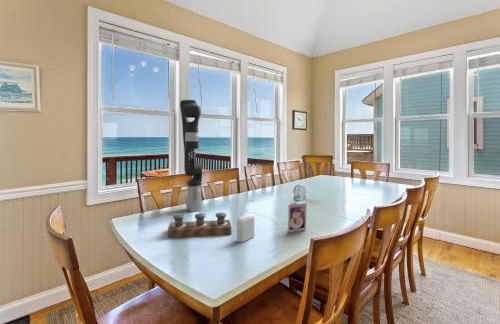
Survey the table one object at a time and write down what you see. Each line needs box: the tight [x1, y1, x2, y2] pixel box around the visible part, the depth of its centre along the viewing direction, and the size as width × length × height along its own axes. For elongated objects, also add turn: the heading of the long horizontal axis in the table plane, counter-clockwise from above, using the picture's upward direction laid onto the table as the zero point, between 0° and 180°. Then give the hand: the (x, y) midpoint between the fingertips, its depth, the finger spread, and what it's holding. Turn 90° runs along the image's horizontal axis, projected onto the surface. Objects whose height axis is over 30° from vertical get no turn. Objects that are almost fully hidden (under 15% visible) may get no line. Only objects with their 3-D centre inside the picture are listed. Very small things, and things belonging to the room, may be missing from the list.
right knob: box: [215, 212, 227, 224], centre depth 143 cm, size 6×6×5 cm
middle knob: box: [194, 213, 207, 225], centre depth 141 cm, size 6×6×5 cm
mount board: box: [167, 219, 232, 239], centre depth 141 cm, size 32×12×4 cm, turn 100°
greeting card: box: [287, 200, 307, 234], centre depth 146 cm, size 11×7×15 cm, turn 114°
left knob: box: [172, 214, 185, 227], centre depth 139 cm, size 6×6×5 cm
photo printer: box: [236, 213, 256, 243], centre depth 132 cm, size 10×4×12 cm, turn 140°
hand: (192, 170), depth 154 cm, fingers closed
